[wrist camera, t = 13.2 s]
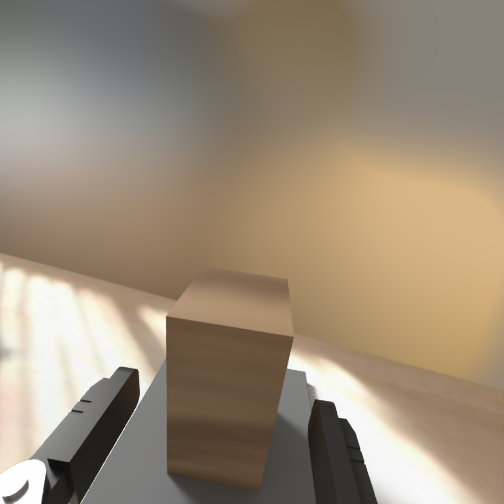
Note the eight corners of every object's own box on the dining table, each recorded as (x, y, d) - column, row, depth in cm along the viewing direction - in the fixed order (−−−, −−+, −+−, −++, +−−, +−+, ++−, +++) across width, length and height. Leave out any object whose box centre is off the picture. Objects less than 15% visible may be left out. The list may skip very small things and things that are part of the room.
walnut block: (259, 491, 14) (293, 336, 10) (166, 473, 14) (166, 315, 10) (263, 402, 19) (287, 279, 15) (196, 390, 19) (203, 266, 15)
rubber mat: (336, 631, 10) (342, 622, 10) (53, 568, 11) (49, 557, 10) (303, 379, 22) (305, 371, 22) (171, 357, 23) (171, 349, 23)
